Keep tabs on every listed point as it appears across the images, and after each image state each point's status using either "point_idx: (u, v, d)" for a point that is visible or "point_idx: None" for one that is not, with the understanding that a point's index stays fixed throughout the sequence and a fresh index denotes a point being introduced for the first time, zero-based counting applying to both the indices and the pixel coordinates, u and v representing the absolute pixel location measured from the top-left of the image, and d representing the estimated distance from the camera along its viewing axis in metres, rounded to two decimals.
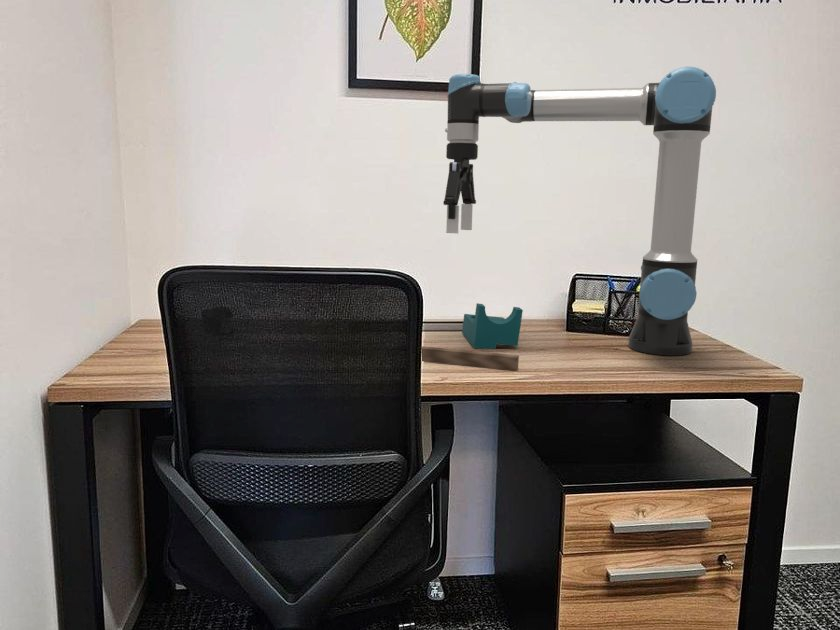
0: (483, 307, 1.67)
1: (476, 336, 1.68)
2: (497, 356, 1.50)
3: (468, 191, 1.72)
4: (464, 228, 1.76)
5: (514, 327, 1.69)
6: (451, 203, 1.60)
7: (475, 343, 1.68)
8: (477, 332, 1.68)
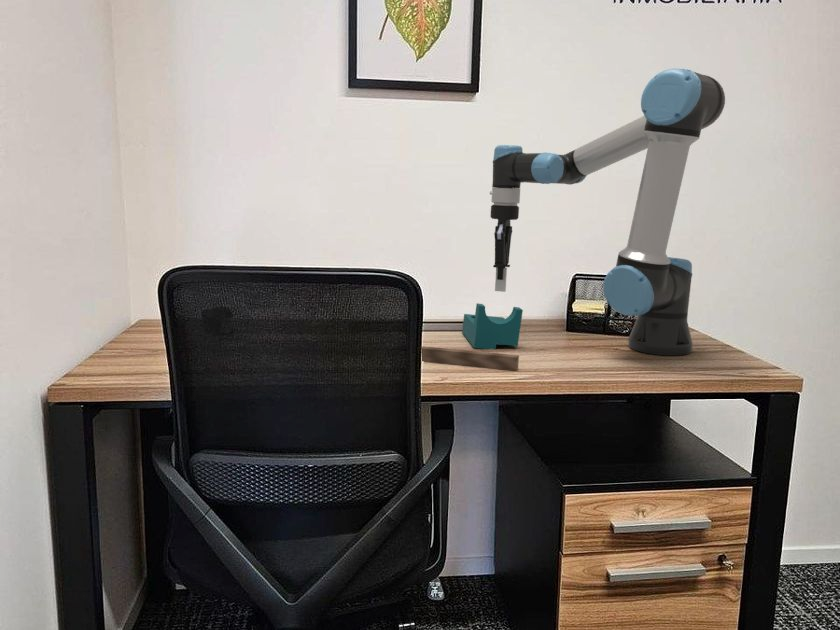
0: (483, 307, 1.67)
1: (476, 336, 1.68)
2: (497, 356, 1.50)
3: (505, 251, 1.89)
4: None
5: (514, 327, 1.69)
6: (500, 266, 1.86)
7: (475, 343, 1.68)
8: (477, 332, 1.68)
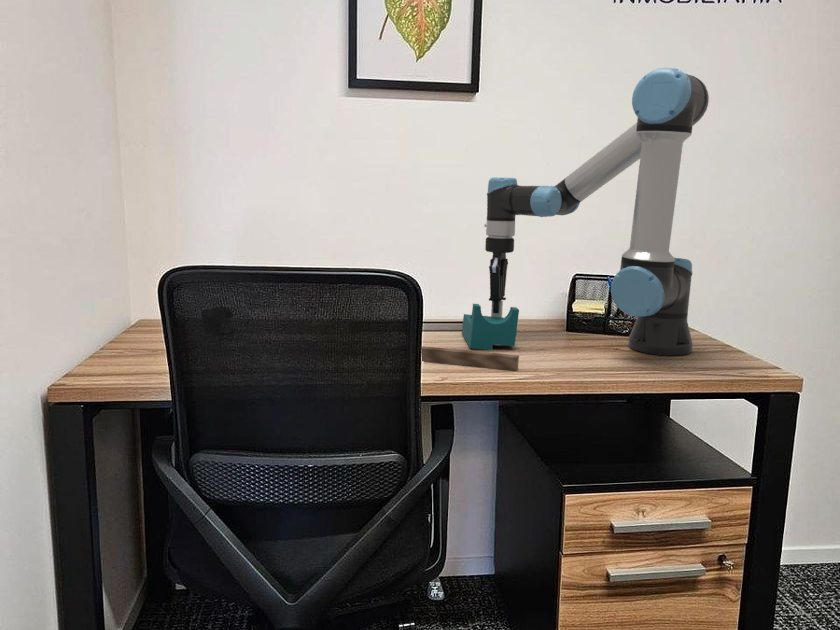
0: (479, 307, 1.66)
1: (472, 336, 1.67)
2: (497, 356, 1.50)
3: None
4: None
5: (511, 327, 1.67)
6: (496, 300, 1.83)
7: (471, 343, 1.68)
8: (473, 332, 1.67)
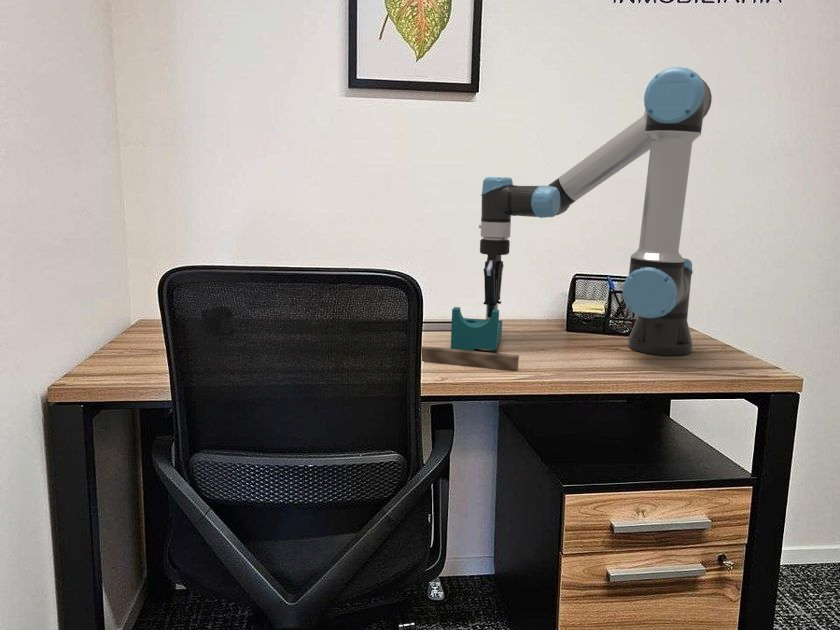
0: (456, 311, 1.62)
1: (452, 340, 1.64)
2: (497, 356, 1.50)
3: None
4: None
5: (491, 330, 1.62)
6: (490, 304, 1.77)
7: (451, 348, 1.64)
8: (452, 336, 1.64)
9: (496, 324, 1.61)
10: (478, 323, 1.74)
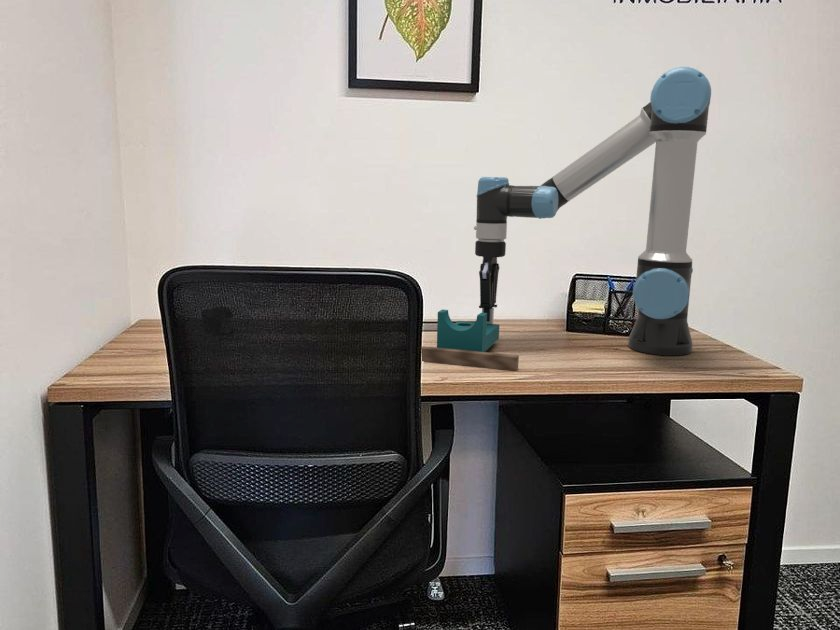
0: (442, 313, 1.59)
1: (438, 344, 1.60)
2: (497, 356, 1.50)
3: None
4: None
5: (476, 334, 1.57)
6: (486, 307, 1.72)
7: None
8: (438, 339, 1.60)
9: (481, 328, 1.56)
10: (472, 327, 1.70)
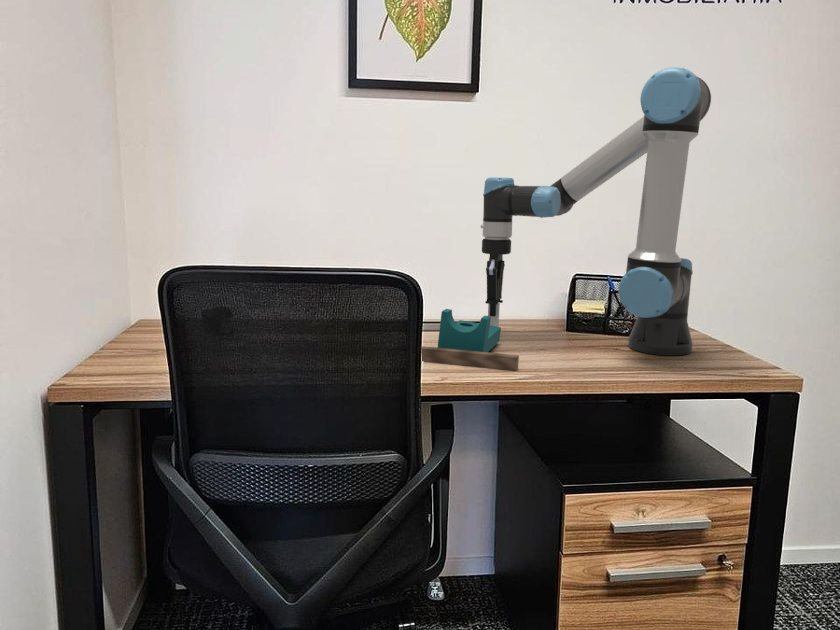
0: (446, 313, 1.58)
1: (439, 343, 1.60)
2: (497, 356, 1.50)
3: None
4: None
5: (478, 337, 1.57)
6: (492, 303, 1.79)
7: None
8: (440, 339, 1.60)
9: (484, 331, 1.56)
10: (473, 327, 1.70)
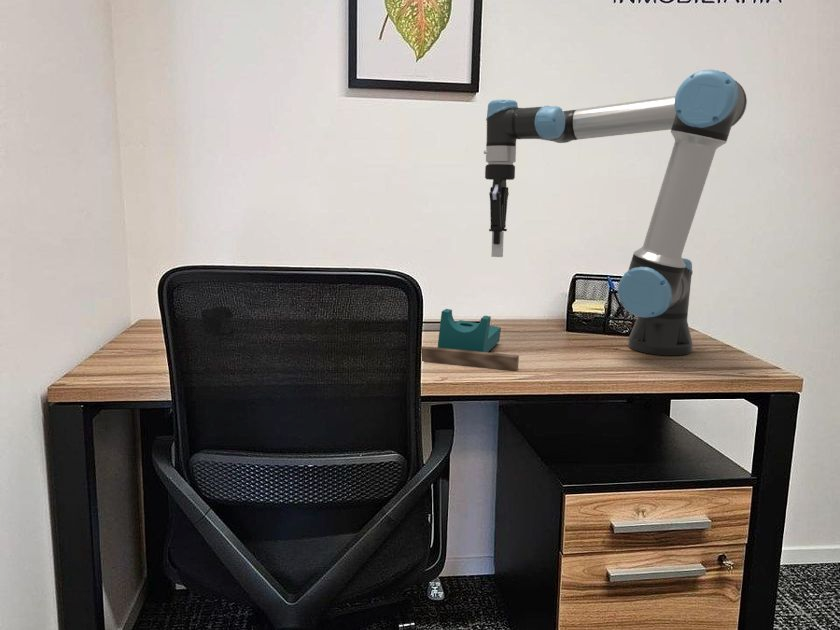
0: (445, 313, 1.58)
1: (439, 343, 1.60)
2: (497, 356, 1.50)
3: None
4: None
5: (478, 337, 1.57)
6: (496, 230, 1.76)
7: None
8: (440, 339, 1.60)
9: (484, 331, 1.56)
10: (473, 327, 1.70)
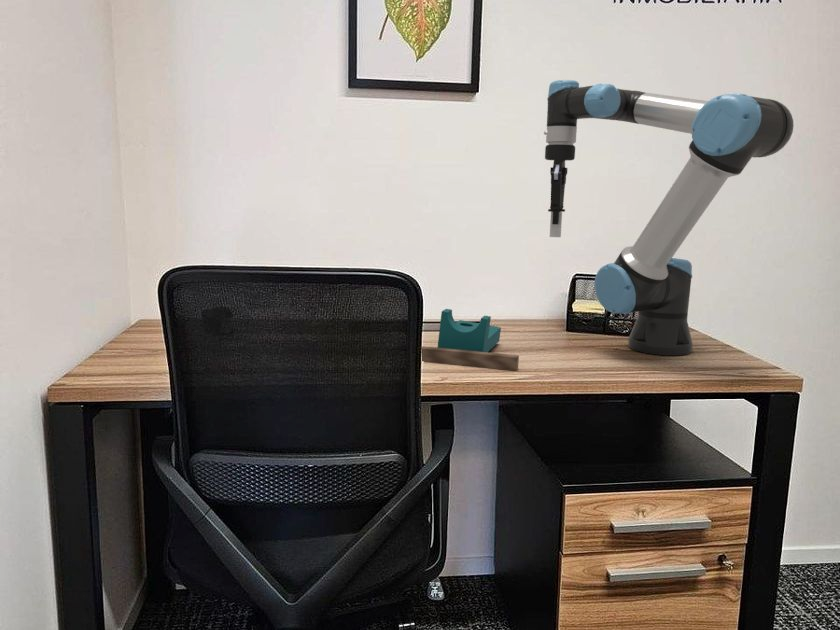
0: (445, 313, 1.58)
1: (439, 343, 1.60)
2: (497, 356, 1.50)
3: None
4: None
5: (478, 337, 1.57)
6: (556, 210, 1.77)
7: None
8: (440, 339, 1.60)
9: (484, 331, 1.56)
10: (473, 327, 1.70)
